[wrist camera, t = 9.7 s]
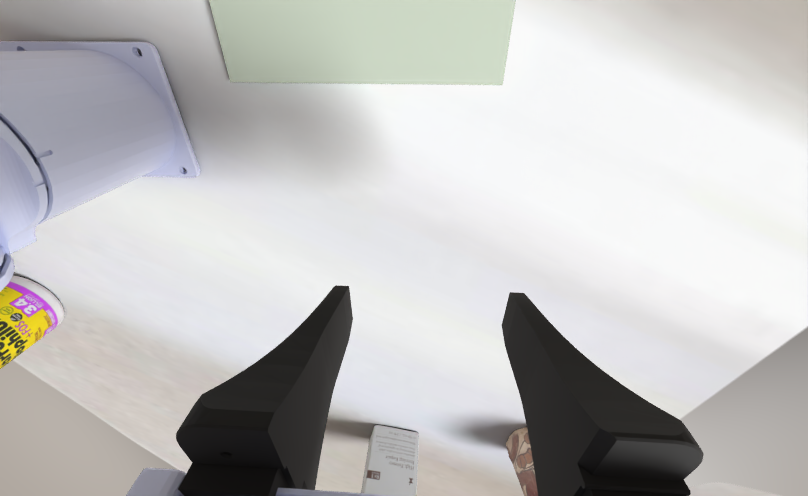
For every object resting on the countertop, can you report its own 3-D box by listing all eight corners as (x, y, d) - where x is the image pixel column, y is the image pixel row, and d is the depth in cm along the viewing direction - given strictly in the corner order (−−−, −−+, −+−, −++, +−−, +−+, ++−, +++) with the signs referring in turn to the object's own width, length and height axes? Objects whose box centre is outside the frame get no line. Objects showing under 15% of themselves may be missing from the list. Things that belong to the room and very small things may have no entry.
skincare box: (419, 431, 40) (418, 562, 30) (412, 447, 43) (408, 574, 32) (372, 423, 40) (354, 553, 30) (367, 440, 42) (348, 566, 32)
